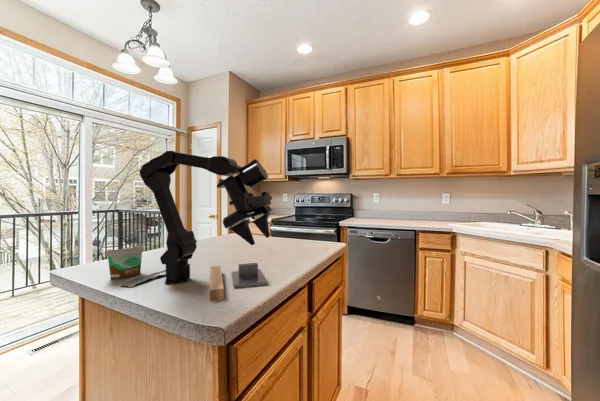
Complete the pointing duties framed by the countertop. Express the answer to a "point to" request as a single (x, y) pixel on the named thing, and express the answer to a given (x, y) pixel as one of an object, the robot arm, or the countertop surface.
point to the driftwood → (143, 279)
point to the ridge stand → (248, 276)
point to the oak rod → (216, 283)
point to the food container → (125, 262)
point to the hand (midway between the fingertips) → (261, 240)
